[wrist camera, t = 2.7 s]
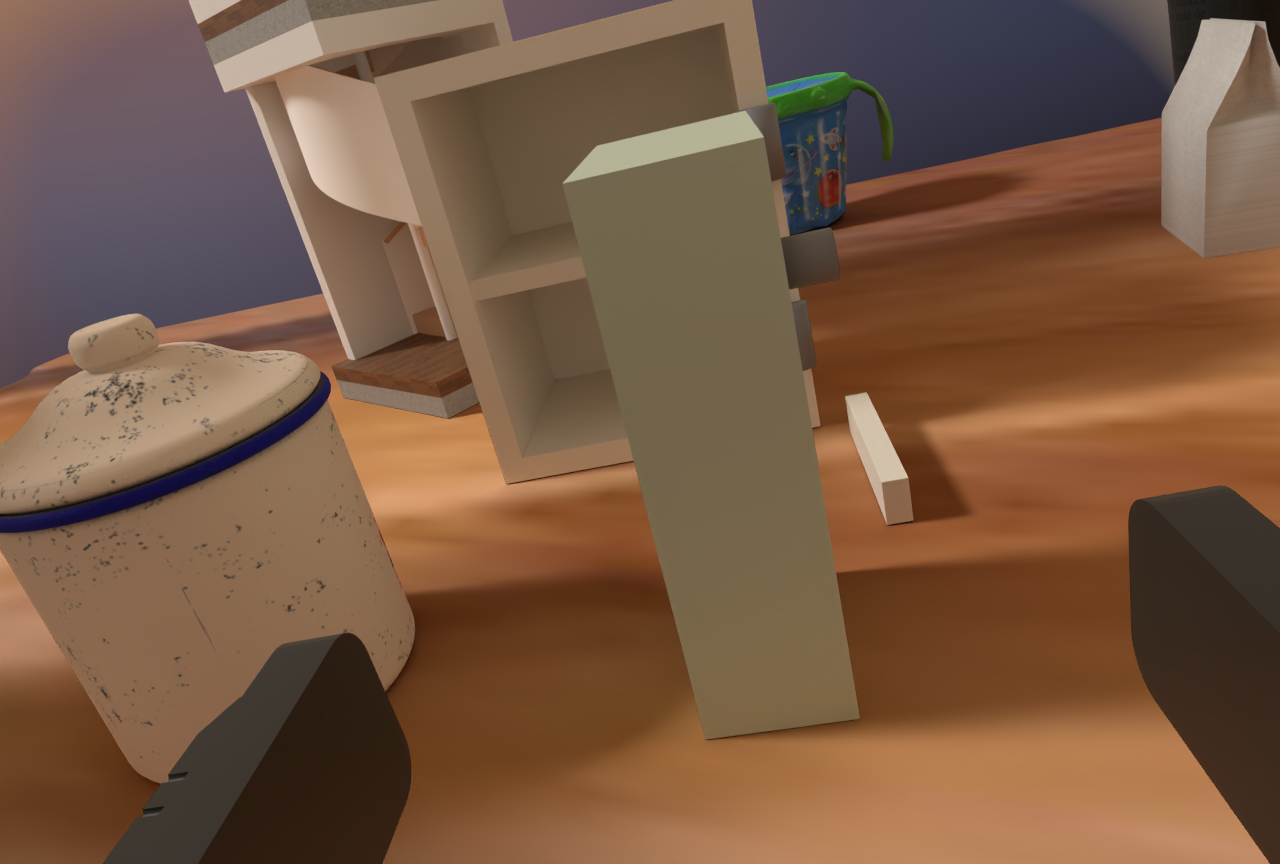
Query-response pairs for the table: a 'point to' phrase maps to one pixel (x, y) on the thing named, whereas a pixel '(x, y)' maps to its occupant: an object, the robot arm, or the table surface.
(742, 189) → the door
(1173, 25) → the drinking cup
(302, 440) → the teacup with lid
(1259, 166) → the white milk carton
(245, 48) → the display case
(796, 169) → the snack cup
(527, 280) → the cabinet
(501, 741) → the table surface
